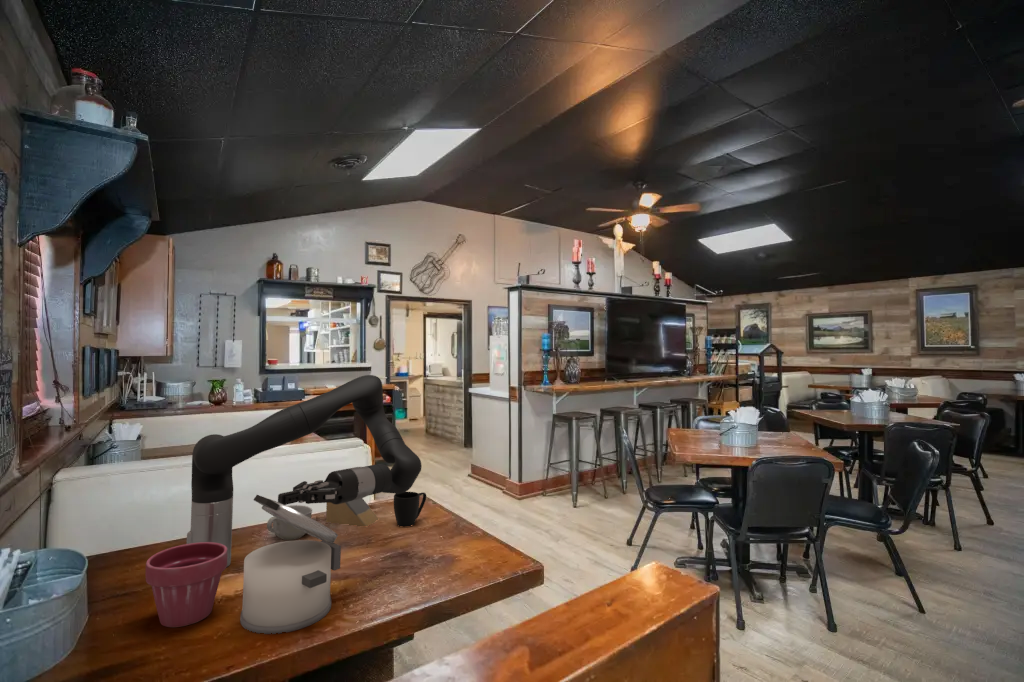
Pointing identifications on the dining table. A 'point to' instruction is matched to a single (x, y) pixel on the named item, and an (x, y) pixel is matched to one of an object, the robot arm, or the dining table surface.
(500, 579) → the dining table surface
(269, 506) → the lid
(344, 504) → the sandwich container
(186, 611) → the plant pot
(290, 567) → the oval food canister
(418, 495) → the mug
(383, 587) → the dining table surface
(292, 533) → the teacup
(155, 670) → the dining table surface
